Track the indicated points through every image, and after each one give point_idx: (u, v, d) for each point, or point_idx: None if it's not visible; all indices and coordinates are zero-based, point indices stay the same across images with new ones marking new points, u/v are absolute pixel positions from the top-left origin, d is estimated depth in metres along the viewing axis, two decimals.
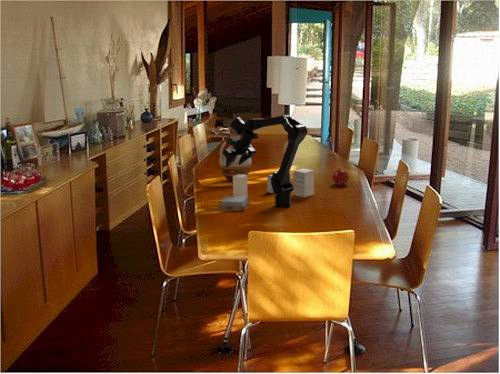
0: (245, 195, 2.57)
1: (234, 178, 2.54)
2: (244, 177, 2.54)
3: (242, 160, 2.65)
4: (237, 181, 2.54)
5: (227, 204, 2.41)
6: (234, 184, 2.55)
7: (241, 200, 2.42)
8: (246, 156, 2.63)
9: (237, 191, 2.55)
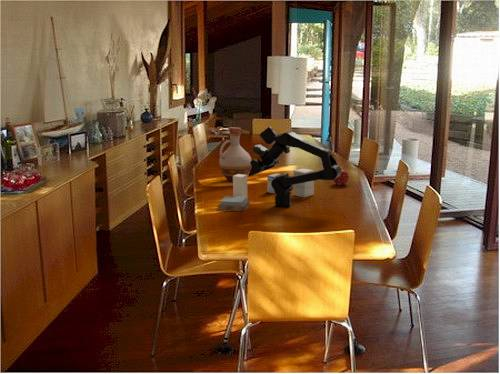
0: (245, 195, 2.57)
1: (234, 178, 2.54)
2: (244, 177, 2.54)
3: None
4: (237, 181, 2.54)
5: (227, 204, 2.41)
6: (234, 184, 2.55)
7: (240, 200, 2.43)
8: (268, 165, 2.52)
9: (237, 191, 2.55)
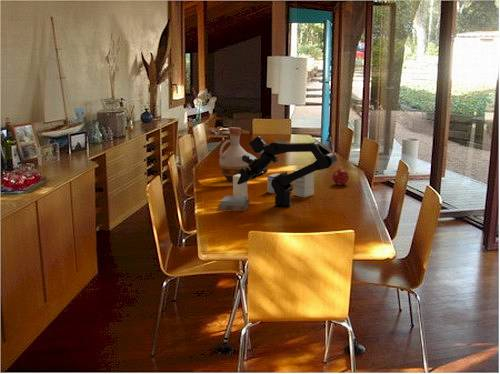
0: (245, 195, 2.57)
1: (234, 178, 2.54)
2: None
3: (252, 177, 2.58)
4: (237, 181, 2.54)
5: (227, 204, 2.41)
6: (234, 184, 2.55)
7: (241, 200, 2.43)
8: (257, 174, 2.56)
9: (237, 191, 2.55)
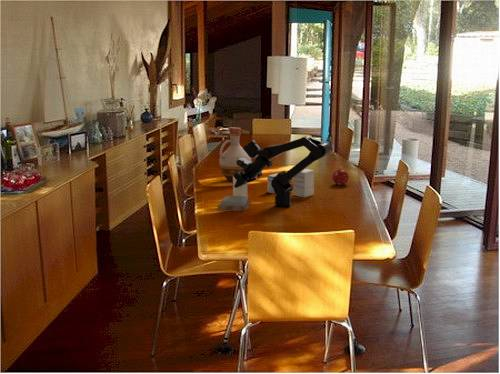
0: (245, 195, 2.57)
1: (234, 178, 2.54)
2: None
3: None
4: None
5: (227, 204, 2.41)
6: (234, 184, 2.55)
7: (241, 200, 2.43)
8: (250, 179, 2.57)
9: (237, 191, 2.55)
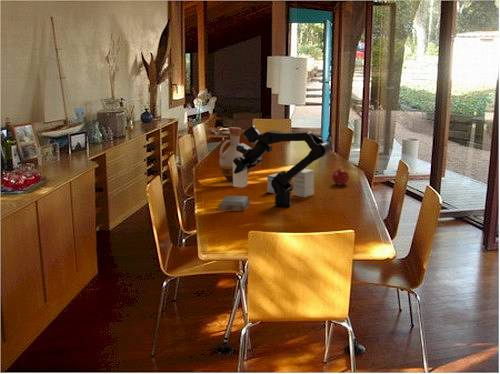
0: (245, 181, 2.56)
1: (234, 164, 2.53)
2: None
3: None
4: None
5: (228, 204, 2.41)
6: (234, 170, 2.54)
7: (242, 200, 2.43)
8: (250, 165, 2.55)
9: (237, 177, 2.54)
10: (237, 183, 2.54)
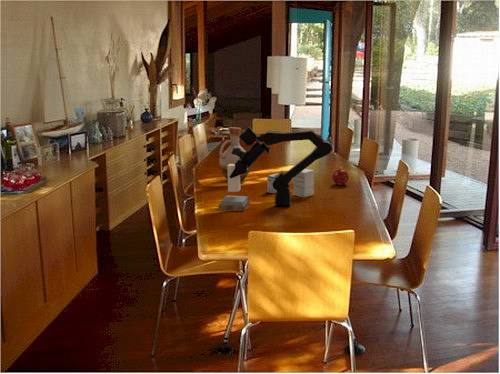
0: (239, 185, 2.48)
1: (229, 168, 2.43)
2: None
3: None
4: None
5: (227, 204, 2.41)
6: (229, 174, 2.44)
7: (241, 200, 2.43)
8: None
9: (233, 181, 2.45)
10: (233, 188, 2.45)
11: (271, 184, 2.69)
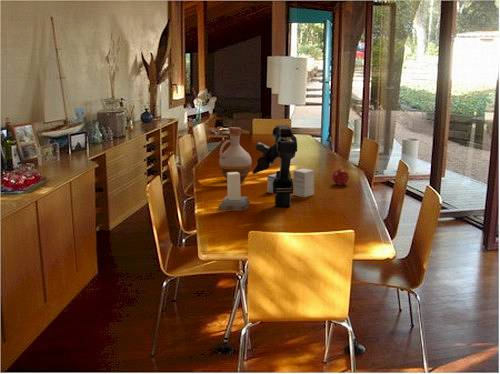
0: None
1: (231, 177, 2.40)
2: None
3: None
4: (234, 179, 2.41)
5: (228, 204, 2.41)
6: (231, 183, 2.41)
7: (242, 200, 2.42)
8: None
9: (234, 190, 2.42)
10: (235, 196, 2.43)
11: (271, 184, 2.69)
